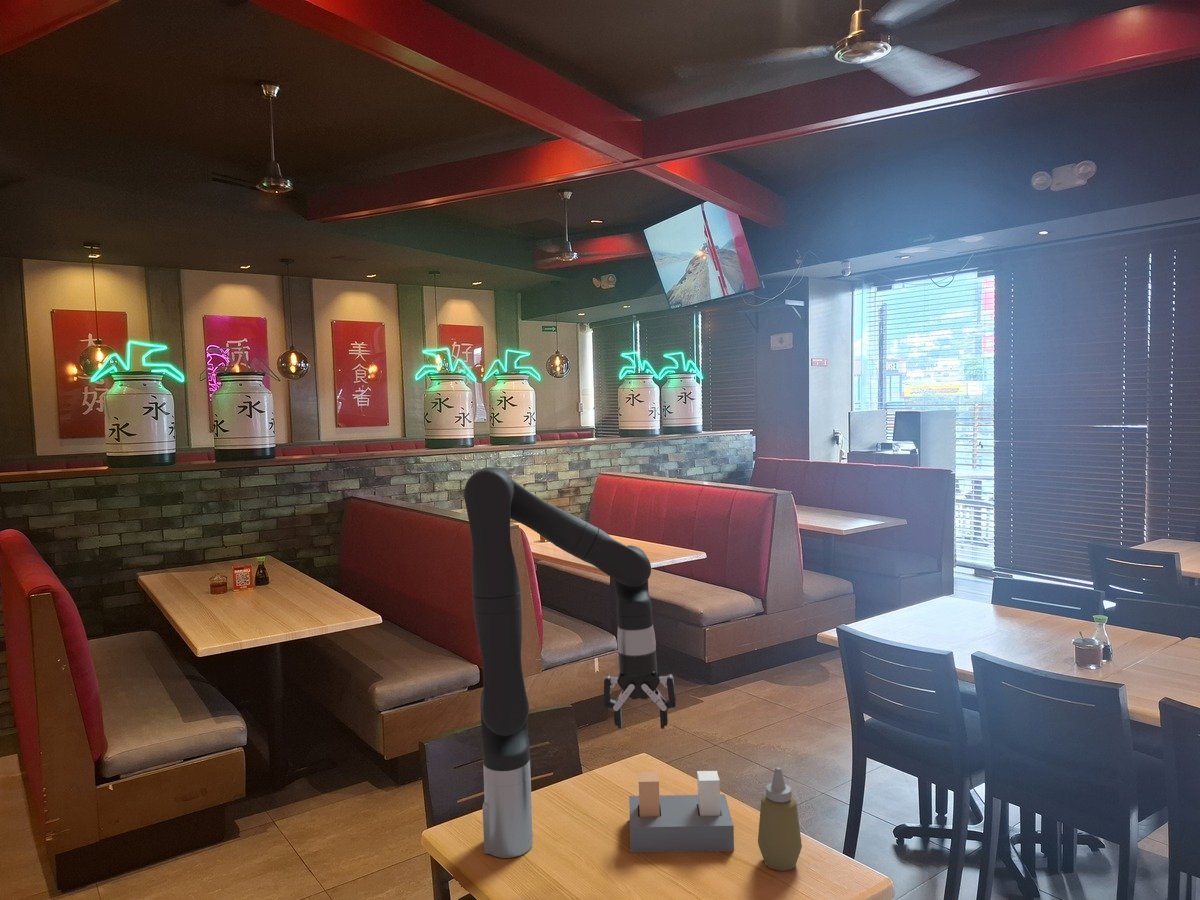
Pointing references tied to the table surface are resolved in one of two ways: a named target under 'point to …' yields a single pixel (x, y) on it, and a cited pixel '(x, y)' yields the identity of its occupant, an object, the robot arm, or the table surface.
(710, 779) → the offwhite plug
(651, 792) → the terracotta plug
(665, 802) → the block
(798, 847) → the squeeze bottle
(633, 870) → the table surface
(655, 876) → the table surface
